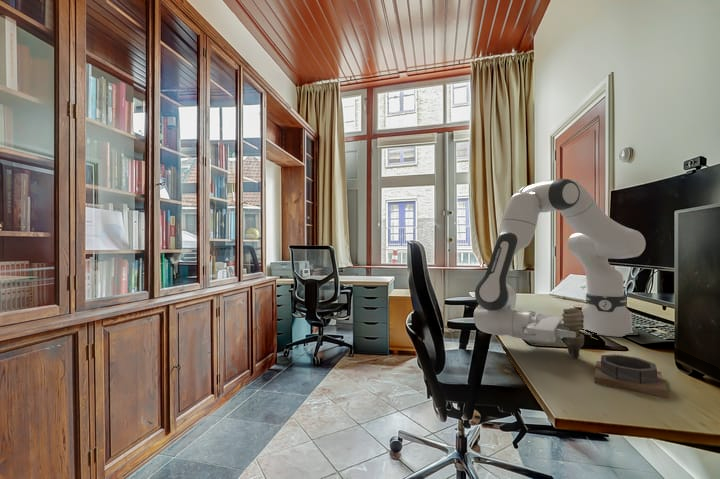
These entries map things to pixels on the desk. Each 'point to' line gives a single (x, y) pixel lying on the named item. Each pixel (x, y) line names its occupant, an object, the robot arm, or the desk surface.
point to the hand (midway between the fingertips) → (577, 331)
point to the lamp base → (630, 374)
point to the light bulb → (574, 322)
